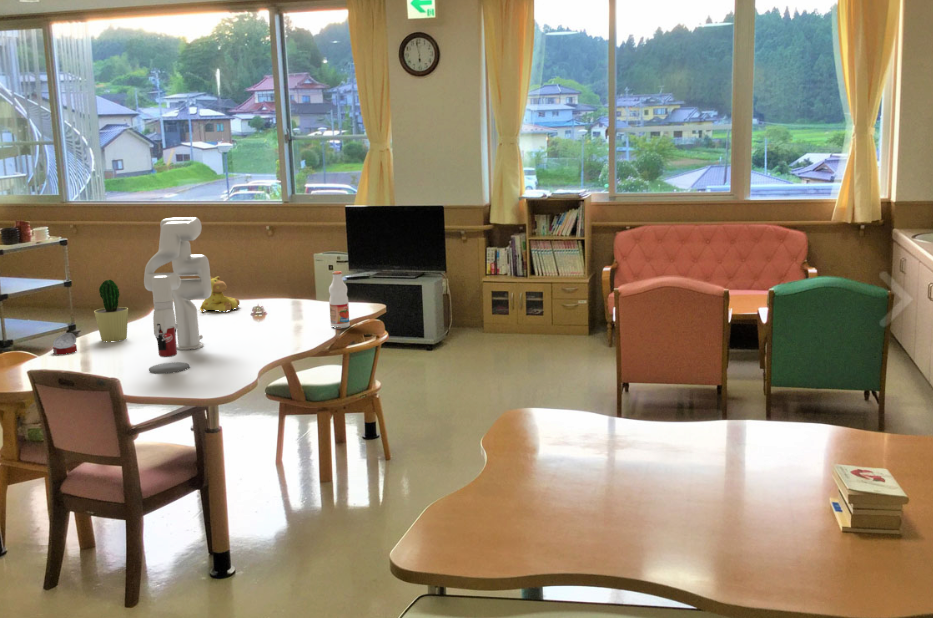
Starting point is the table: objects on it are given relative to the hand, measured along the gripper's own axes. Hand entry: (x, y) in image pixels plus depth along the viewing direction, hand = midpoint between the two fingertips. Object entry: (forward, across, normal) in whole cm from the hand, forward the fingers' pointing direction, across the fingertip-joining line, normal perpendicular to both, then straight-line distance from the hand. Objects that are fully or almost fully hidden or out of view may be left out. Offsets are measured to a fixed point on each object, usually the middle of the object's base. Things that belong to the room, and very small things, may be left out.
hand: (167, 347), depth 357 cm
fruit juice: (+9, -88, +44) cm, 99 cm away
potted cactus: (+9, -53, -59) cm, 80 cm away
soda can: (+4, 0, 0) cm, 4 cm away
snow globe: (+9, -26, -67) cm, 72 cm away
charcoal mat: (+9, 0, 0) cm, 9 cm away
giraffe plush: (+8, -133, -43) cm, 140 cm away
